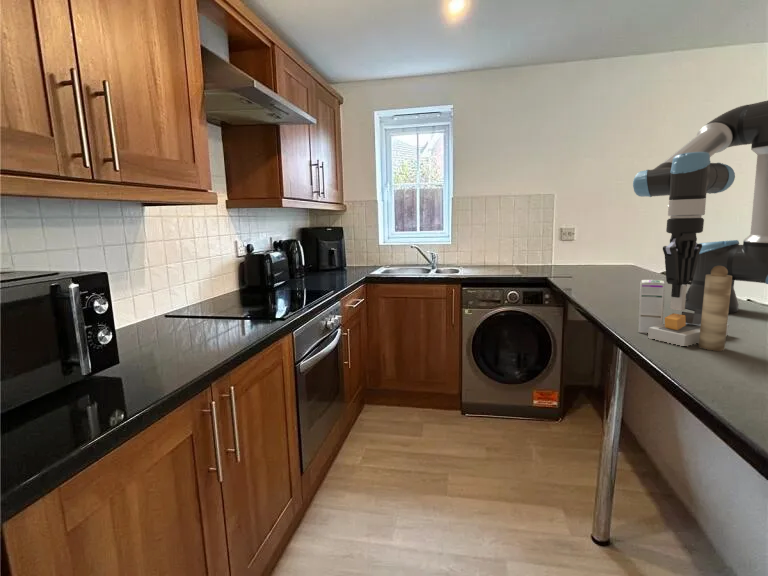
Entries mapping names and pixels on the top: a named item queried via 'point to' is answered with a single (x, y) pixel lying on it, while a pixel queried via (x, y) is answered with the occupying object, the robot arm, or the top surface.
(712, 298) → the pepper mill
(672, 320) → the paddle
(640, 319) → the syrup box
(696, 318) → the paddle middle
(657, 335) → the breaker strip
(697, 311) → the paddle
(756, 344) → the top surface
